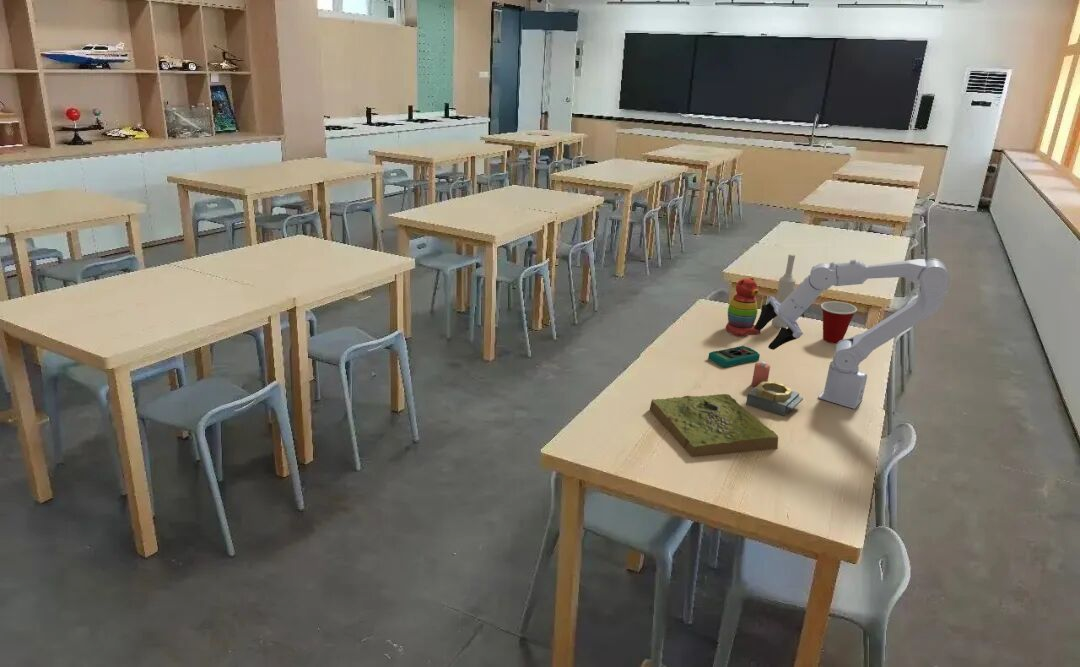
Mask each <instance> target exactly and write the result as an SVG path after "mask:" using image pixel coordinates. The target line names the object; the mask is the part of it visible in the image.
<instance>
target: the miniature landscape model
mask: <svg viewBox="0 0 1080 667" xmlns="http://www.w3.org/2000/svg"><path fill="white" fill-rule="evenodd" d="M649 405H650V406H649V411H650V412H651V414H652V415H653V416H654V417H655V418H656V419H657V420H658V421H659V422H660V424H661V425H662V426H663V427H664V428H665V429H666V430H667V432H668V433H670V434H671V435H672V437H673V438H674V439H675V440H676V441H677V442H678V443H679V445H680V446H682V448H683V449H684V450H685V451H686V453H688V455H689V456H690V457H691V458H701V457H709V456H718V455H719V456H720V455H729V454H738V453H740V454H741V453H748V452H757V451H760V452H761V451H765V450H767V451H768V450H769V451H770V450H778V447H779V446H778V444H779V436H778V434H777V433H776V432H775V431H774V430H771V429H770V428H769V427H768V426H766V425H765V424H764V423H763V422H762V421H761V420H759V419H758V418H757V417H756V416H755V415H754V414H751V413H750V411H748V410H746V409H745V408H744V407H743V405H740V404H739V403H738V402H737V399H735V398H733V397H732V396H731V395H730V394H728V393H722V394H720V393H719V394H718V393H717V394H713V395H712V394H710V395H709V394H708V395H696V396H695V395H692V396H691V395H684V396H681V397H676V396H674V397H669V398H668V397H667V398H657V399H653V398H652V399H651V402H650V404H649Z"/></svg>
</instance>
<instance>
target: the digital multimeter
mask: <svg viewBox="0 0 1080 667" xmlns="http://www.w3.org/2000/svg"><path fill="white" fill-rule="evenodd" d="M707 357H708V358H707V359H708V360H709V361H711V362H713V363H715V364H716V365H718V366H721V367H723V368H730V367H733V366H738V365H742V364H747V363H750V362H758V361H759V360H760V353H759V352H758V351H756V350H754V349H752V348H750V347H748V346H745V345H739V346H734V347H730V348H725V349H720V350H714V351H710V352H708V356H707Z"/></svg>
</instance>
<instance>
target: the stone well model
mask: <svg viewBox="0 0 1080 667" xmlns="http://www.w3.org/2000/svg"><path fill="white" fill-rule="evenodd" d="M803 400H804V397H802V396H800V392H797V391H793V390H792V388H790V387H789V386H788V385H786V384H783V383H781V382H776V381H768V382H761V383H760V384H759V385H758V386H757V387H753V389H751V390H750V391H749V392H747V394H746V401H745V404H746V406H747V405H748V406H750V407H753V408H757V409H761V410H763V411H766V412H769V413H771V414H772V413H773V414H775V415H778V416H782V417H785V416H786V415H787V414H788V413H789V412H790V411H793V409H795V407H797V406H798V405H799V404H800V403H801V402H802V401H803Z"/></svg>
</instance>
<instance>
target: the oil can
mask: <svg viewBox="0 0 1080 667" xmlns="http://www.w3.org/2000/svg"><path fill="white" fill-rule="evenodd" d="M770 371H771V365H770V364H768V363H767V362H765V361H760V362H755V363H754V369H753V372H752V373H753V375H752V379H751V380H752V381H751V386H752V387H753V388H755V387H757V386H758V385H759V384H760V383H761V382H769V376H770Z"/></svg>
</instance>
